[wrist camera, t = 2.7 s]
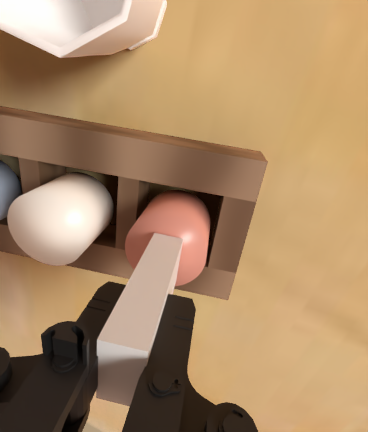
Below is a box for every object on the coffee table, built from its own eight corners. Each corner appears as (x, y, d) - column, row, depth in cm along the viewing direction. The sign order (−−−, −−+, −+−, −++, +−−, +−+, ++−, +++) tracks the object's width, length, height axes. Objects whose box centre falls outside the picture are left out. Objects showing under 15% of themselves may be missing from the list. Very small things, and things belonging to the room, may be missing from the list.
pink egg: (143, 242, 19) (123, 277, 15) (148, 183, 17) (126, 207, 13) (204, 255, 18) (198, 293, 15) (216, 196, 16) (214, 224, 13)
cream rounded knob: (53, 226, 19) (13, 256, 15) (49, 166, 17) (1, 185, 13) (113, 238, 19) (85, 272, 15) (114, 179, 17) (84, 201, 13)
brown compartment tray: (-23, 222, 23) (-56, 238, 20) (-50, 97, 19) (-97, 97, 16) (227, 274, 21) (228, 300, 19) (261, 151, 17) (267, 162, 14)
